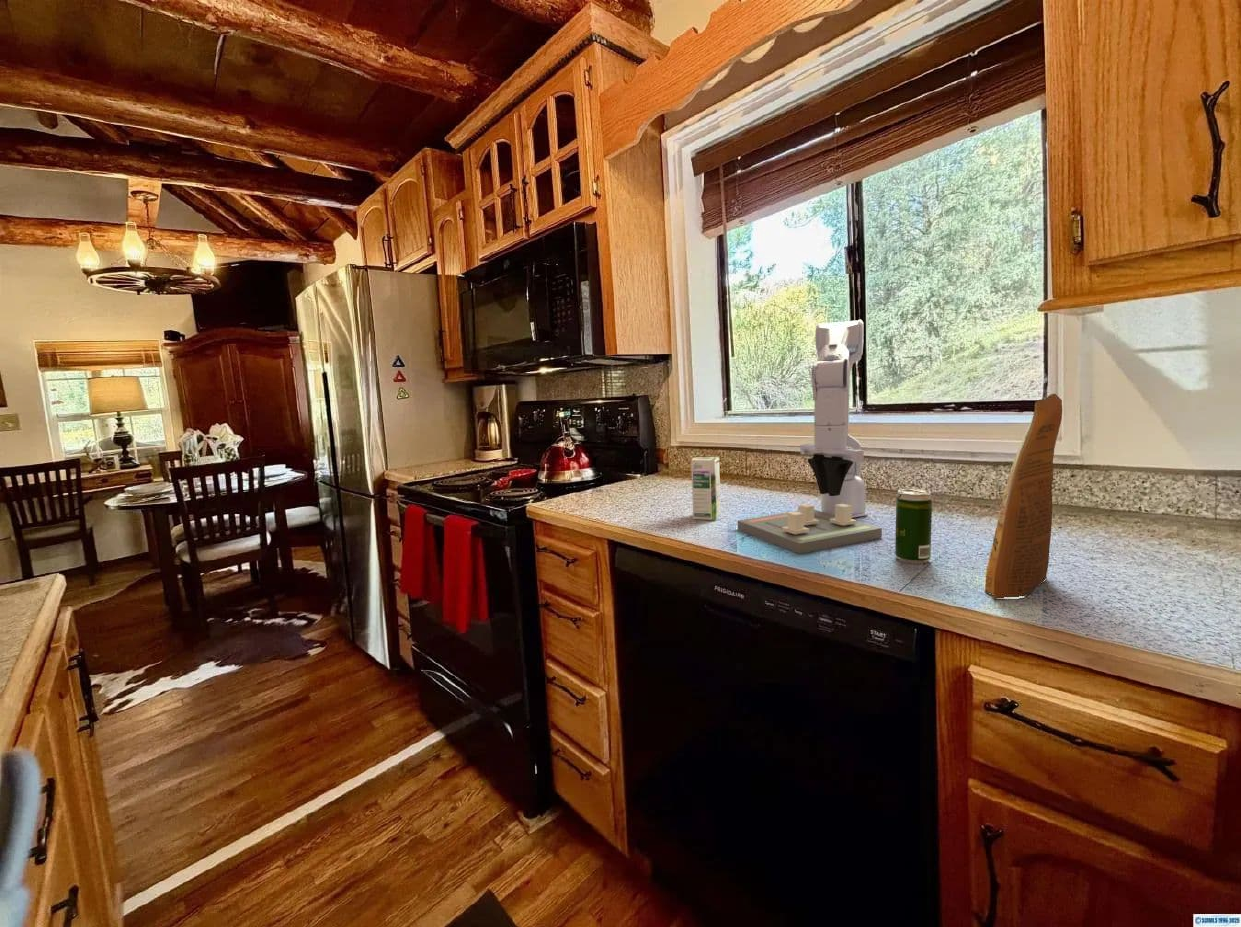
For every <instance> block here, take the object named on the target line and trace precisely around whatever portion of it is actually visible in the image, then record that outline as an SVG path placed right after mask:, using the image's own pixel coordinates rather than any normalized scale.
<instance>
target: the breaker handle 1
mask: <svg viewBox="0 0 1241 927" xmlns="http://www.w3.org/2000/svg"><path fill="white" fill-rule="evenodd" d="M796 511H797V510H796ZM796 511H795V510H793V511H788V513H787V512H786V513H787V527H782V530H783V531H786V532H789V533H792V534H800V533H805V532H809V529H808V528H805V527H804V514H803V513H800V512H796Z"/></svg>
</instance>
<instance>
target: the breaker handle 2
mask: <svg viewBox="0 0 1241 927" xmlns="http://www.w3.org/2000/svg"><path fill="white" fill-rule="evenodd" d="M851 514H852V506H850V505H846V504H838V505H835V518H833V519H830V522H832V523H835V524H839V525H842V526H844V525H850V524H855V523H857V520H858V519H857V520H856V519H853V518H851Z"/></svg>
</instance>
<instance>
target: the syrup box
mask: <svg viewBox="0 0 1241 927" xmlns="http://www.w3.org/2000/svg"><path fill="white" fill-rule="evenodd" d="M690 465H691V468H690V469H691V471H690V472H691V489H692V490H691V494H692V519H693V520H704V521H716V520H718V518H719V517H720V516H721V481H720V480H721V478H720V475H721V474H720V471H721V470H720V456H719V457H718V456H714V457H713V456H711V457H709V456H708V457H707V456H706V457H705V456H704V457H703V456H701V457H700V456H696V457H693V458H692V459H691V462H690Z"/></svg>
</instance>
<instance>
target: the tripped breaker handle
mask: <svg viewBox="0 0 1241 927" xmlns="http://www.w3.org/2000/svg"><path fill="white" fill-rule="evenodd" d="M797 507H798V508H797V511H798V512H800V513H803V514H804V525H811V524H817V523H819V520H817V519H814V510H815V505H812V504H808V503H803V504H798V505H797Z"/></svg>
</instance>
